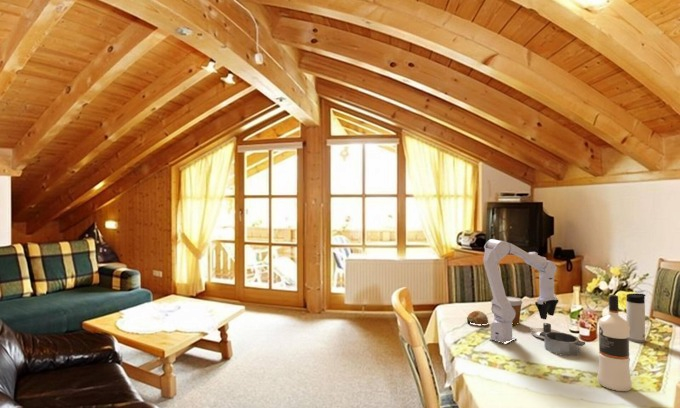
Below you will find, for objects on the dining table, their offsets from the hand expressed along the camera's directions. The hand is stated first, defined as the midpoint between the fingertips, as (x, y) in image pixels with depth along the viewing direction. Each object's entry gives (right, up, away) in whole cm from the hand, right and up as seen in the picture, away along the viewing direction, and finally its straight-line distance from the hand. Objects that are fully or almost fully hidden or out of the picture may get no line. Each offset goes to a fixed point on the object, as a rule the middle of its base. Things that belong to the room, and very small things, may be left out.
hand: (547, 317), depth 168 cm
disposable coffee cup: (-7, -9, +19) cm, 22 cm away
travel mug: (+35, -8, -6) cm, 37 cm away
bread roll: (-24, -9, +19) cm, 32 cm away
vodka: (-2, -10, -44) cm, 46 cm away
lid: (0, -9, 0) cm, 9 cm away
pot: (-2, -9, -15) cm, 17 cm away
